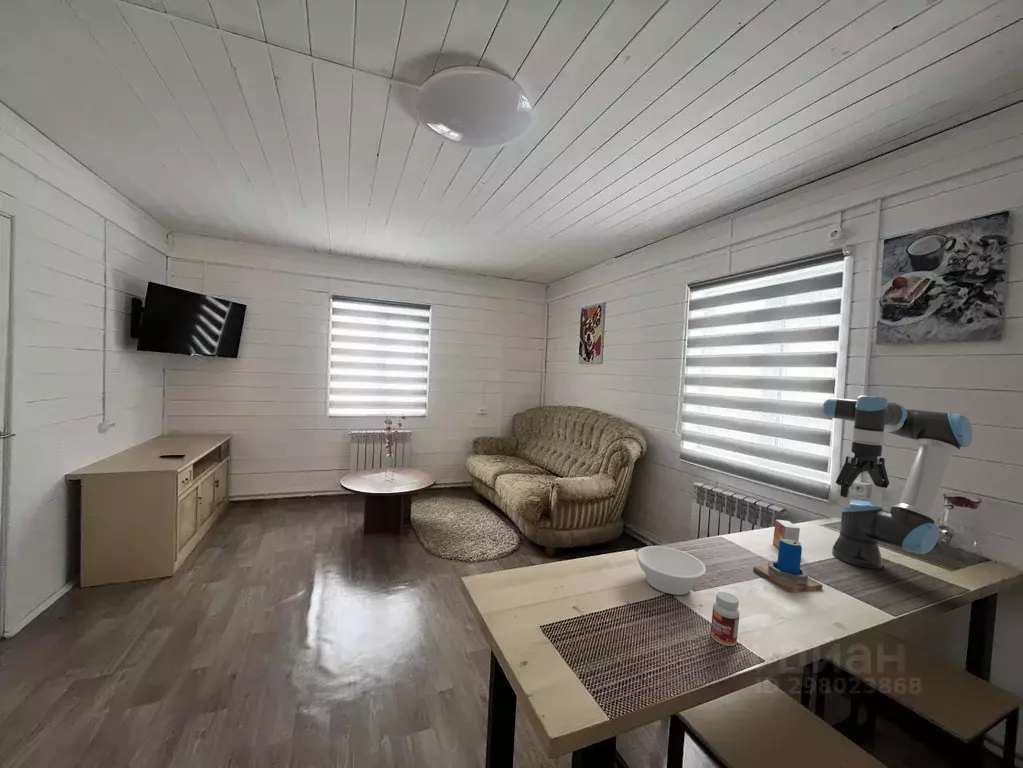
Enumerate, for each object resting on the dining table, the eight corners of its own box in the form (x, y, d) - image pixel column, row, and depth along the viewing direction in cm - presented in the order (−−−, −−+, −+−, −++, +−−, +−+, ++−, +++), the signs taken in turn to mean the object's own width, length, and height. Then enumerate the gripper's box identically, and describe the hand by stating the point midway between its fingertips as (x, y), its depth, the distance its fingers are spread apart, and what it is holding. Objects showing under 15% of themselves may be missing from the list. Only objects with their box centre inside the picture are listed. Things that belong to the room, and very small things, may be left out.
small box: (772, 543, 171) (774, 519, 171) (786, 545, 170) (789, 520, 170) (782, 552, 163) (784, 526, 163) (797, 554, 162) (800, 528, 162)
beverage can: (802, 581, 137) (806, 546, 136) (781, 578, 138) (784, 544, 137) (793, 572, 143) (796, 538, 143) (773, 569, 144) (776, 536, 144)
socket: (784, 568, 149) (785, 557, 149) (822, 589, 136) (823, 577, 136) (753, 570, 146) (754, 559, 145) (788, 592, 132) (790, 580, 132)
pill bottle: (707, 638, 106) (711, 596, 106) (713, 628, 111) (717, 587, 110) (733, 650, 102) (738, 607, 102) (739, 639, 107) (743, 597, 106)
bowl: (712, 587, 133) (715, 562, 132) (689, 613, 117) (692, 585, 117) (650, 562, 147) (652, 540, 147) (622, 582, 132) (624, 558, 131)
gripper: (882, 440, 141) (875, 501, 142) (826, 439, 134) (819, 502, 135) (907, 445, 133) (900, 509, 134) (850, 444, 127) (843, 511, 128)
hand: (860, 506), depth 135 cm, fingers open, 13 cm apart
